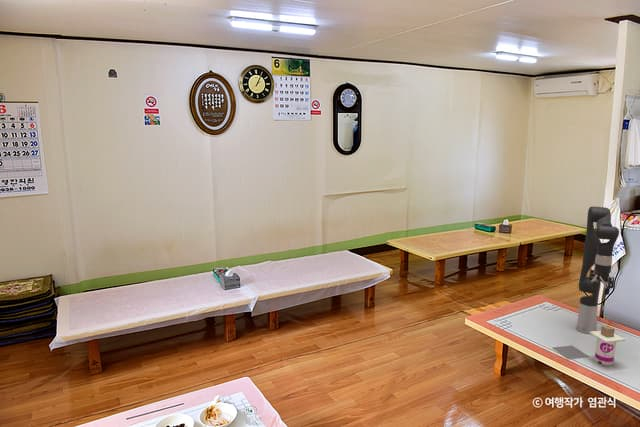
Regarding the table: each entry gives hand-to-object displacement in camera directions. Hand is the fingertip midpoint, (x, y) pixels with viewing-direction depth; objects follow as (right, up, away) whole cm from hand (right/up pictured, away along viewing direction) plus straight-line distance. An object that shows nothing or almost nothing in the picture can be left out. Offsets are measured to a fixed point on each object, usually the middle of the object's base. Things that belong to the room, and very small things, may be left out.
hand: (599, 291), depth 239 cm
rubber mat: (-14, -34, +3) cm, 37 cm away
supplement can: (-2, -36, -7) cm, 37 cm away
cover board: (-3, -21, -10) cm, 24 cm away
